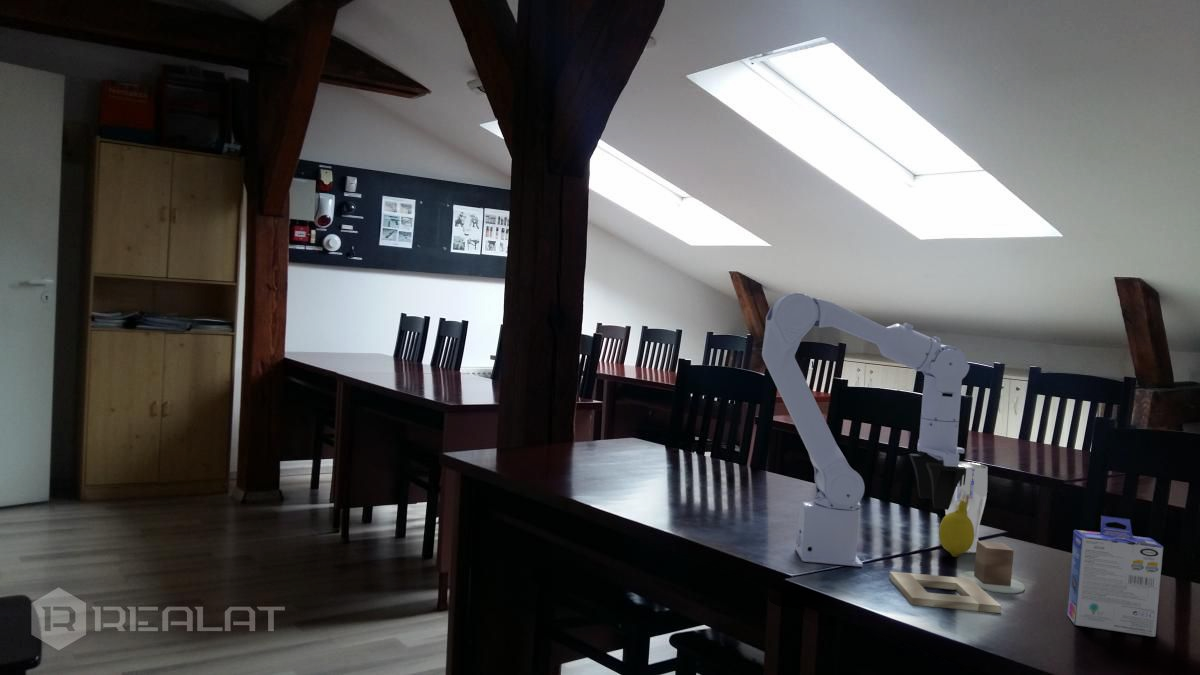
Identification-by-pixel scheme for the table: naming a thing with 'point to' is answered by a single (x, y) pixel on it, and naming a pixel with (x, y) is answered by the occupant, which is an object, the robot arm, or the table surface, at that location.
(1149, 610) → the ink cartridge box
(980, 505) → the beer glass
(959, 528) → the lemon
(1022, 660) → the table surface
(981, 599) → the pocket block
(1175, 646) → the table surface
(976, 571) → the walnut block
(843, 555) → the robot arm
